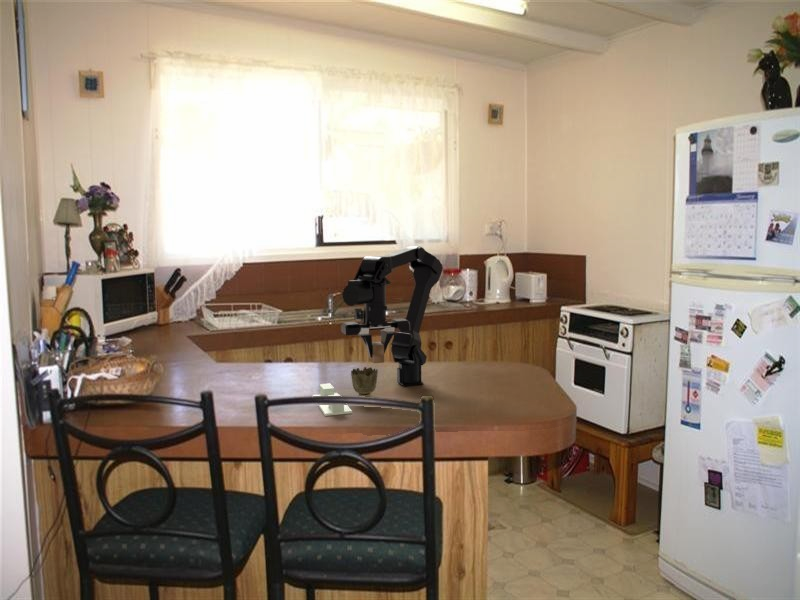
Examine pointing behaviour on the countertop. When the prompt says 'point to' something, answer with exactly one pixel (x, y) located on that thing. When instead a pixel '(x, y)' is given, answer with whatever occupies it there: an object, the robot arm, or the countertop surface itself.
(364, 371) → the cup
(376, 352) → the brown rectangular block
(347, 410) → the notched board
